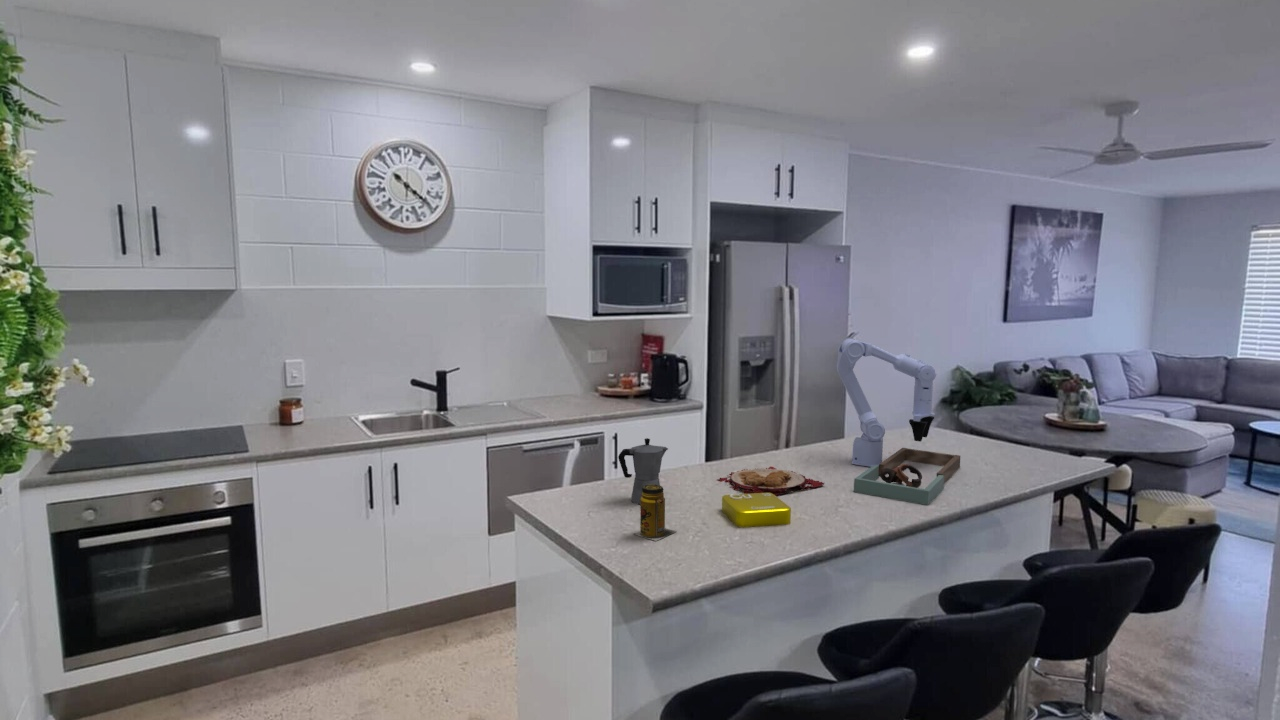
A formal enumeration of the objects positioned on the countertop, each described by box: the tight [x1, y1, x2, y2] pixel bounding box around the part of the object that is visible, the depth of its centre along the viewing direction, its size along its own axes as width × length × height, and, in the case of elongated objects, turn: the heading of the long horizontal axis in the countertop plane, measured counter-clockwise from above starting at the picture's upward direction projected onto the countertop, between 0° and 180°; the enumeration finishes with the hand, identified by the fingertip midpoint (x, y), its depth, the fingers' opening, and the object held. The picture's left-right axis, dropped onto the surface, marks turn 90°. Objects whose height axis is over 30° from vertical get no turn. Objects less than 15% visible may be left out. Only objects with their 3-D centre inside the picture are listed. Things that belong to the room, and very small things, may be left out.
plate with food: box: [716, 466, 825, 497], centre depth 214 cm, size 25×26×4 cm
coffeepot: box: [617, 437, 669, 506], centre depth 194 cm, size 15×9×18 cm, turn 116°
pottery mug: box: [879, 463, 923, 488], centre depth 209 cm, size 12×10×8 cm
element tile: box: [721, 493, 792, 528], centre depth 183 cm, size 15×15×5 cm
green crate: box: [853, 465, 945, 506], centre depth 207 cm, size 21×20×4 cm
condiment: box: [634, 484, 677, 542], centre depth 169 cm, size 7×8×12 cm
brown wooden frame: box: [878, 447, 961, 484], centre depth 227 cm, size 19×28×4 cm
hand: (920, 439), depth 233 cm, fingers open, 7 cm apart
